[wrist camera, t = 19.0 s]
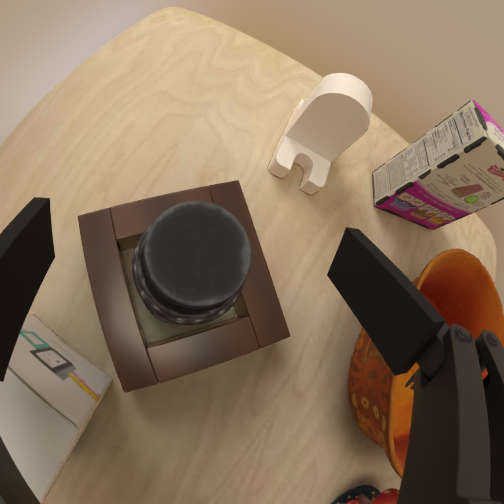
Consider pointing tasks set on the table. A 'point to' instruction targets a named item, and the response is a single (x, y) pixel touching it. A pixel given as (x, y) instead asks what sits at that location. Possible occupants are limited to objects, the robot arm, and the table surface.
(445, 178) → the candy bar box
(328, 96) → the cable organizer
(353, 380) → the bowl
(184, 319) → the pill bottle
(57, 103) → the table surface
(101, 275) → the dock
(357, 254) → the robot arm
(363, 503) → the figurine
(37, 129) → the table surface
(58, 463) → the ink box
